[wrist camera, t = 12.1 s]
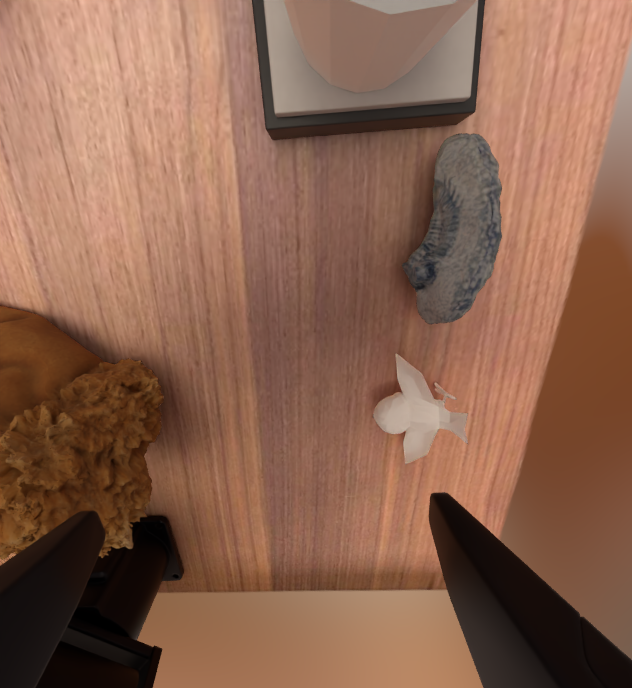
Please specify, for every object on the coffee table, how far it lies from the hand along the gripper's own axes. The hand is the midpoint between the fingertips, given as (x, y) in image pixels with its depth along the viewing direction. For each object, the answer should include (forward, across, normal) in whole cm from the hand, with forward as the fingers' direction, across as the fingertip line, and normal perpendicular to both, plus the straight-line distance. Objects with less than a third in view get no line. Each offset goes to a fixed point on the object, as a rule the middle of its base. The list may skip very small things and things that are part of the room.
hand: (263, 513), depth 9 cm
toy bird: (+12, -7, +4) cm, 15 cm away
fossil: (+12, -8, -6) cm, 16 cm away
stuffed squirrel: (+12, +14, +2) cm, 18 cm away
